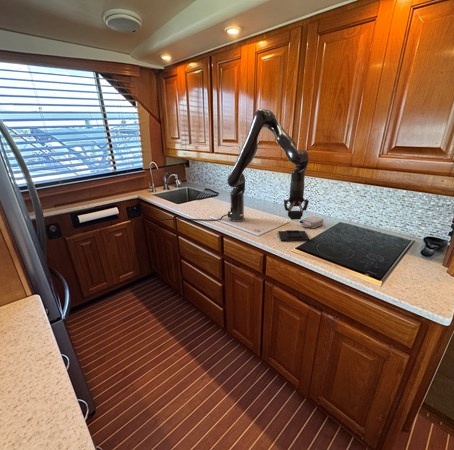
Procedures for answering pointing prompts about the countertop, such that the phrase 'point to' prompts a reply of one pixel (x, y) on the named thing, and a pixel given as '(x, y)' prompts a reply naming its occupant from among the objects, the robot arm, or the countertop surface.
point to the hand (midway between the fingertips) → (294, 217)
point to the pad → (295, 215)
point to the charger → (312, 222)
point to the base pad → (293, 235)
